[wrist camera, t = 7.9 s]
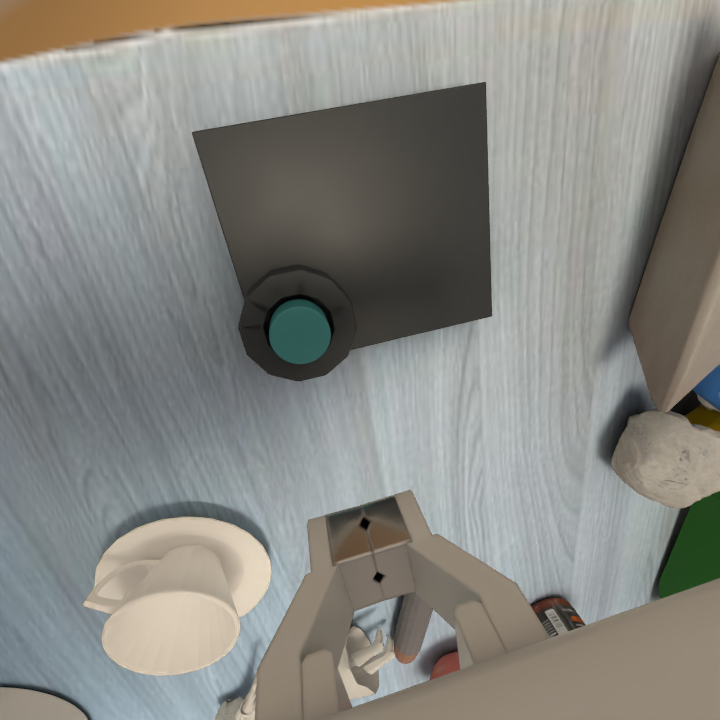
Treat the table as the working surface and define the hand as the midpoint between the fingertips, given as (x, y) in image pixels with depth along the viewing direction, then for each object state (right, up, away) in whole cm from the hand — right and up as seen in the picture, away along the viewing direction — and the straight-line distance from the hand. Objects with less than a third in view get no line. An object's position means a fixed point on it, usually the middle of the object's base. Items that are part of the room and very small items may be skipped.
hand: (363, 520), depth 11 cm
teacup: (-13, -11, +18) cm, 25 cm away
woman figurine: (+3, -20, +22) cm, 30 cm away
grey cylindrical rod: (+5, -18, +25) cm, 31 cm away
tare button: (-3, +6, +9) cm, 12 cm away
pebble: (+26, -2, +19) cm, 32 cm away
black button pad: (0, +12, +11) cm, 16 cm away
